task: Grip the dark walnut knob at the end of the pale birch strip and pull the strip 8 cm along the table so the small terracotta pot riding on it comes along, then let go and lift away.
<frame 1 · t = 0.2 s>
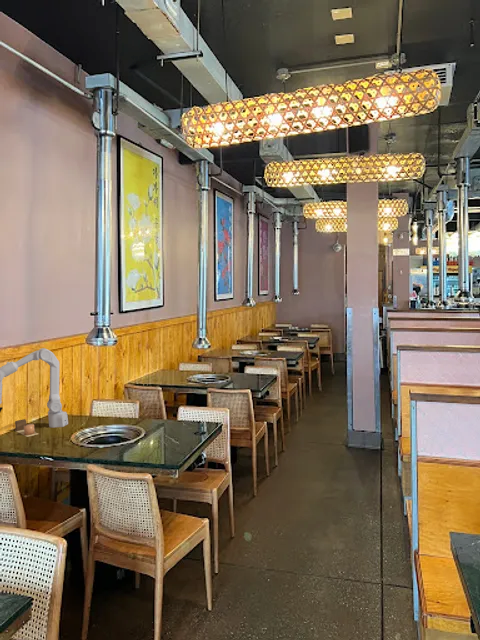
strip: (26, 428, 258), point 3 cm above the table, slide at 0.0 cm, touching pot
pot: (29, 433, 254), point 1 cm above the table, touching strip
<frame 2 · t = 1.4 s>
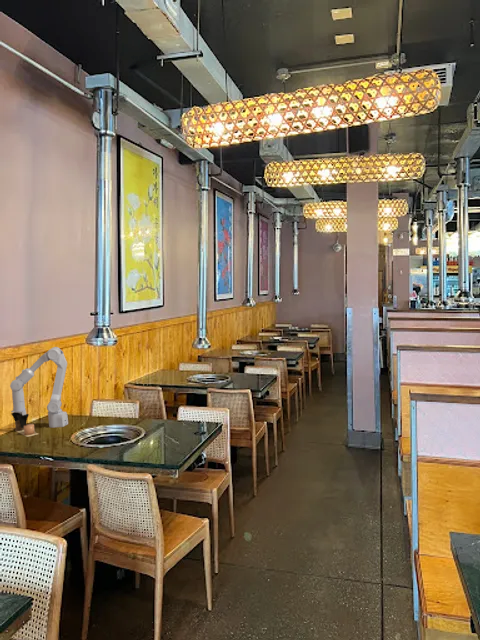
hand: (20, 426, 263), 3 cm above the table, tool pointing down, fingers open, 7 cm apart
nothing on the table moved.
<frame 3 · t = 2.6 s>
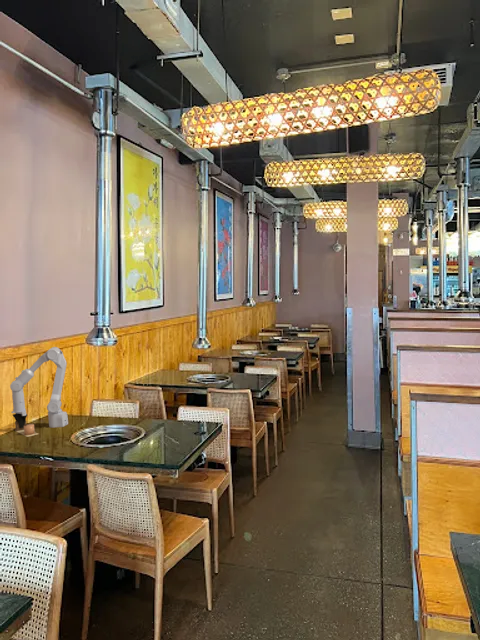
hand: (21, 427, 263), 3 cm above the table, tool pointing down, fingers closed on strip, 2 cm apart
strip: (26, 428, 258), point 3 cm above the table, slide at 0.0 cm, touching gripper, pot
everything else where it was.
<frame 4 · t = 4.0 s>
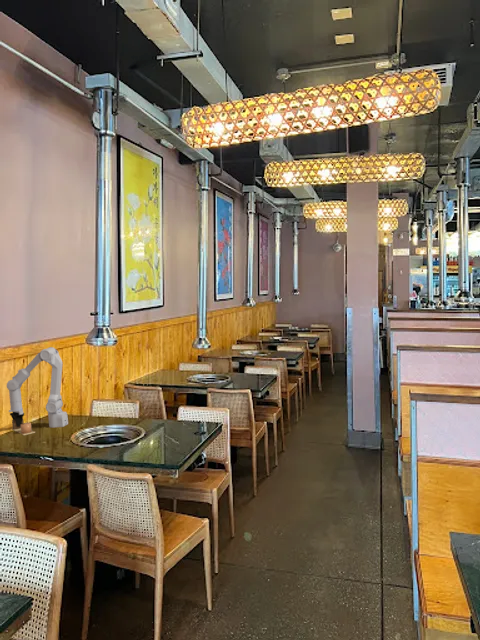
hand: (18, 425, 267), 3 cm above the table, tool pointing down, fingers closed on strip, 2 cm apart
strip: (23, 426, 261), point 3 cm above the table, slide at 4.6 cm, touching gripper, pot
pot: (26, 432, 258), point 1 cm above the table, touching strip
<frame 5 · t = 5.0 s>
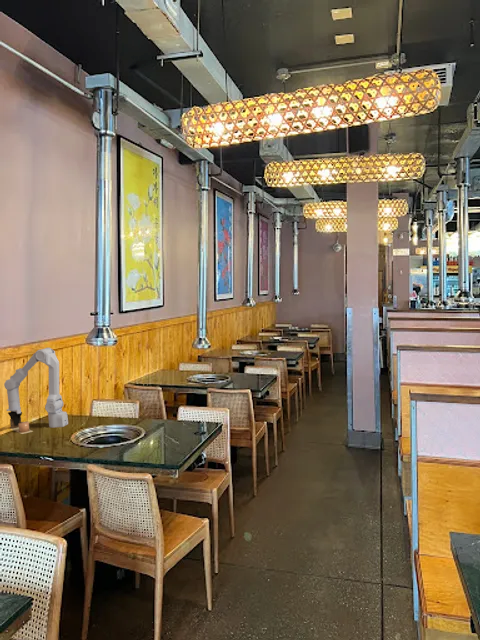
hand: (16, 424, 269), 3 cm above the table, tool pointing down, fingers closed on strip, 2 cm apart
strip: (20, 425, 264), point 3 cm above the table, slide at 8.0 cm, touching gripper, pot
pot: (24, 431, 260), point 1 cm above the table, touching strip
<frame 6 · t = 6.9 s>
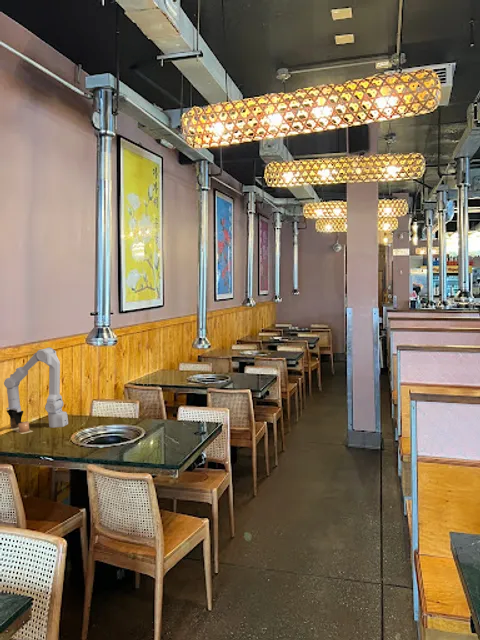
hand: (16, 423, 269), 4 cm above the table, tool pointing down, fingers open, 7 cm apart
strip: (20, 425, 264), point 3 cm above the table, slide at 8.0 cm, touching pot
everything else where it was.
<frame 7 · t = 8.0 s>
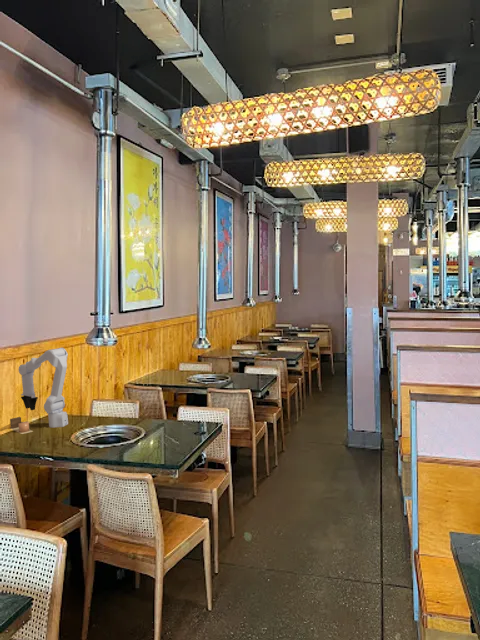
hand: (30, 409, 275), 9 cm above the table, tool pointing down, fingers open, 7 cm apart
nothing on the table moved.
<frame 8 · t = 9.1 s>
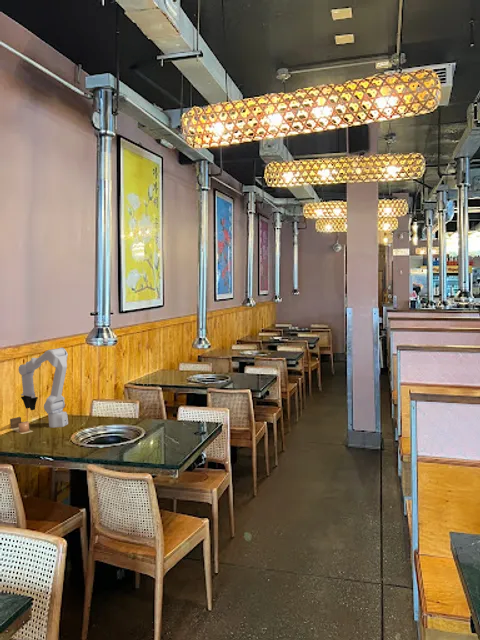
hand: (30, 409, 275), 9 cm above the table, tool pointing down, fingers open, 7 cm apart
nothing on the table moved.
at the end: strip slide at 8.0 cm; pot moved 8.0 cm from its start; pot touching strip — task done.
